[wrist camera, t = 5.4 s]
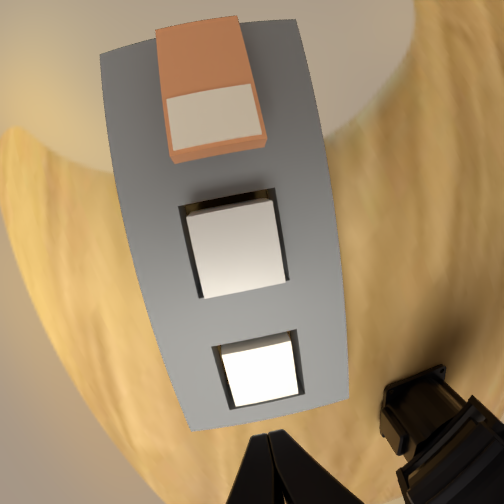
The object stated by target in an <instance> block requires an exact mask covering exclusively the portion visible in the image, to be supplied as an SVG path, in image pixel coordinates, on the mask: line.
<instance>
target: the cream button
mask: <svg viewBox="0 0 504 504" xmlns="http://www.w3.org/2000/svg"><path fill="white" fill-rule="evenodd" d="M221 352H222V359H223V362H224V366H225V370H226V373H227V377H228V381H229V384H230V388H231V391H232V395H233V399H234V402H235V405H236V406H242V405H247V404H252V403H258V402H262V401H267V400H272V399H277V398H281V397H285V396H290V395H294V394H298V387H297V380H296V373H295V366H294V359H293V352H292V345H291V340H290V338H289V336H288V334H287V331H286V332H281V333H277V334H272V335H267V336H263V337H258V338H253V339H248V340H243V341H238V342H233V343H228V344H222V345H221Z"/></svg>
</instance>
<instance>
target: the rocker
mask: <svg viewBox="0 0 504 504" xmlns="http://www.w3.org/2000/svg"><path fill="white" fill-rule="evenodd" d="M155 31H156V43H157V55H158V66H159V76H160V85H161V94H162V103H163V111H164V119H165V127H166V134H167V141H168V149H169V155H170V158H171V159H172V161H173V162H174V164H178V163H182V162H187V161H191V160H196V159H201V158H206V157H211V156H216V155H222V154H227V153H233V152H238V151H244V150H250V149H256V148H263V147H265V144H266V141H267V134H266V130H265V125H264V121H263V117H262V113H261V108H260V104H259V100H258V96H257V92H256V87H255V83H254V79H253V75H252V71H251V67H250V63H249V59H248V55H247V52H246V48H245V44H244V40H243V36H242V32H241V29H240V25H239V21H238V17H237V16H229V17H221V18H214V19H207V20H201V21H195V22H190V23H184V24H180V25H175V26H170V27H166V28H161V29H157V30H155Z"/></svg>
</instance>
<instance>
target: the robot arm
mask: <svg viewBox="0 0 504 504" xmlns="http://www.w3.org/2000/svg"><path fill="white" fill-rule="evenodd" d="M445 373H446V367H445V366H444V365H443V364H441V365H438V366H436V367H434V368H432V369H429V370H427V371H425V372H422V373H420V374H417V375H415V376H413V377H410V378H408V379H405V380H402V381H400V382H397V383H395V384H392V385H389V386H387V387H386V388H385V390H384V400H383V408H382V410H381V417H380V430H381V432H380V433H381V435H382V437H385V438H386V439H387V441H388V442H389V444H390V445H391V447H392V449H393V450H394V452H395V453H396V455H398V456H401V455H403V456H404V457H405V459H406V460H407V462H408V463H407V464H405V465H404V466H403V467H402V468H399V469H398V470H397V471H396V475H397V478H398V482H399V485H400V488H401V492H402V495H403V498H404V501H405V504H504V424H503V423H502V422H501V421H500V420H499V419H498V418H497V417H496V416H495V415H494V414H493V413H492V412H491V411H490V410H488V409H487V408H486V407H485V406H484V405H483V404H482V403H481V402H480V401H479V400H477V399H476V398H475V397H474V396H473V395H472V396H471V397H470V398H469V399H468V402H466V401H465V400H464V399H463V398H462V397H461V396H460V395H458V394H457V393H456V392H455V391H454V390H453V389H452V388H451V387H450V386H449V385H448V384H447V383H446V382H445V381H444V379H445ZM389 391H390V392H389ZM283 495H284V496H283ZM284 498H285V500H284ZM285 502H286V504H364V503H363V502H362V501H361V500H360V499H358V498H357V497H356V496H355V495H354V494H353V493H351V492H350V491H349V490H348V489H347V488H346V487H345V486H343V485H342V484H341V483H340V482H339V481H338V480H337V479H335V478H334V477H333V476H332V475H331V474H330V473H329V472H328V471H327V470H325V469H324V468H323V467H322V466H321V465H320V464H319V463H318V462H317V461H316V460H315V459H314V458H313V457H312V456H310V455H309V454H308V453H307V452H306V451H305V450H304V449H303V448H302V447H301V446H300V445H299V444H298V443H297V442H296V441H295V440H294V439H293V438H292V437H291V436H290V435H289V434H288V433H287V432H286V431H285V430H283V429H280V430H275V431H271V432H269V433H268V435H267V434H266V433H262V434H258V435H253V436H251V438H250V440H249V443H248V445H247V448H246V451H245V454H244V457H243V459H242V462H241V465H240V467H239V470H238V473H237V476H236V478H235V481H234V483H233V486H232V489H231V491H230V494H229V496H228V499H227V502H226V504H285Z"/></svg>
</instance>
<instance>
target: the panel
mask: <svg viewBox="0 0 504 504" xmlns="http://www.w3.org/2000/svg"><path fill="white" fill-rule="evenodd" d="M239 25H240V29H241V32H242V36H243V40H244V44H245V48H246V52H247V55H248V59H249V63H250V67H251V71H252V75H253V79H254V83H255V87H256V92H257V96H258V100H259V104H260V108H261V113H262V117H263V121H264V125H265V130H266V134H267V141H266V144H265V147H263V148H256V149H250V150H244V151H238V152H233V153H227V154H222V155H216V156H211V157H206V158H201V159H196V160H191V161H187V162H182V163H178V164H174V162H173V161H172V159H171V158H170V155H169V149H168V141H167V134H166V127H165V119H164V111H163V103H162V94H161V85H160V76H159V66H158V55H157V43H156V38H154V39H150V40H146V41H142V42H139V43H135V44H132V45H128V46H125V47H121V48H118V49H115V50H112V51H109V52H106V53H103V54H100V65H101V78H102V90H103V100H104V108H105V117H106V125H107V132H108V139H109V146H110V153H111V158H112V165H113V170H114V176H115V182H116V187H117V192H118V197H119V202H120V207H121V212H122V217H123V221H124V226H125V230H126V234H127V239H128V243H129V247H130V251H131V255H132V259H133V263H134V267H135V270H136V274H137V278H138V281H139V285H140V289H141V292H142V296H143V299H144V302H145V306H146V309H147V312H148V316H149V319H150V322H151V325H152V328H153V331H154V335H155V338H156V341H157V344H158V347H159V349H160V352H161V355H162V358H163V361H164V364H165V367H166V369H167V372H168V375H169V378H170V380H171V383H172V386H173V388H174V391H175V393H176V396H177V398H178V401H179V403H180V406H181V408H182V411H183V413H184V416H185V418H186V421H187V423H188V425H189V428H190V430H191V432H192V431H200V430H208V429H215V428H222V427H229V426H235V425H240V424H246V423H252V422H257V421H262V420H267V419H272V418H276V417H281V416H285V415H289V414H294V413H298V412H302V411H306V410H310V409H313V408H317V407H321V406H324V405H328V404H332V403H335V402H338V401H342V400H345V399H348V398H349V378H348V350H347V331H346V316H345V302H344V290H343V279H342V268H341V258H340V249H339V240H338V232H337V224H336V216H335V209H334V202H333V195H332V188H331V182H330V175H329V169H328V163H327V157H326V151H325V146H324V140H323V135H322V130H321V124H320V119H319V115H318V109H317V105H316V100H315V96H314V91H313V87H312V82H311V78H310V73H309V69H308V64H307V60H306V56H305V52H304V48H303V45H302V40H301V37H300V33H299V29H298V26H297V22H296V19H294V20H293V19H291V20H270V21H257V22H246V23H239ZM264 189H267V193H268V199H269V200H272V201H273V207H274V213H275V219H276V225H277V231H278V237H279V243H280V250H281V256H282V262H283V268H284V275H285V281H286V283H281V284H277V285H272V286H267V287H262V288H257V289H252V290H247V291H242V292H237V293H232V294H227V295H222V296H217V297H212V298H207V299H204V295H203V291H202V286H201V282H200V278H199V274H198V269H197V265H196V260H195V256H194V251H193V247H192V242H191V238H190V233H189V228H188V224H187V219H186V217H187V215H186V210H185V205H186V204H191V203H196V202H201V201H205V200H210V199H215V198H221V197H226V196H231V195H236V194H241V193H247V192H252V191H258V190H264ZM286 331H290V336H291V343H292V350H293V357H294V364H295V373H296V380H297V387H298V394H294V395H290V396H285V397H281V398H277V399H272V400H267V401H262V402H258V403H252V404H247V405H242V406H236V405H235V402H234V399H233V395H232V391H231V388H230V384H227V380H226V377H225V373H224V369H223V366H222V362H221V358H220V355H219V351H218V347H217V345H222V344H228V343H233V342H238V341H243V340H248V339H253V338H258V337H263V336H267V335H272V334H277V333H281V332H286Z"/></svg>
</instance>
